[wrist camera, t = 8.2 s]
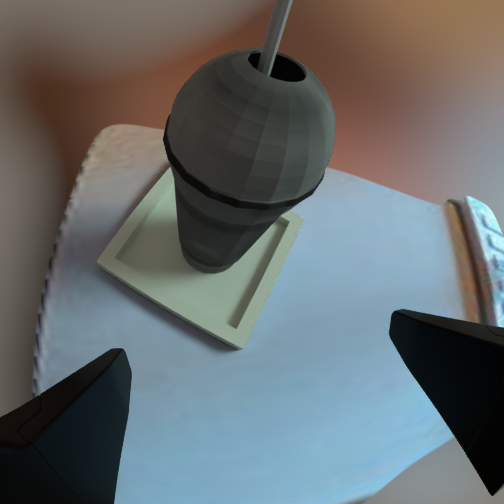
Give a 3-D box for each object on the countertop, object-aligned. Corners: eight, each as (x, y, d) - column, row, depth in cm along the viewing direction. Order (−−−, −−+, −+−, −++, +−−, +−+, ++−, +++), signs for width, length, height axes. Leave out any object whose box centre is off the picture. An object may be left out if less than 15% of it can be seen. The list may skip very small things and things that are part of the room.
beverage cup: (187, 309, 20) (312, -38, 2) (148, 222, 22) (161, -76, 4) (273, 268, 23) (474, 45, 5) (230, 193, 25) (332, -47, 7)
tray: (238, 350, 20) (243, 348, 19) (100, 267, 20) (96, 261, 19) (298, 225, 26) (304, 218, 25) (182, 161, 25) (183, 152, 24)
